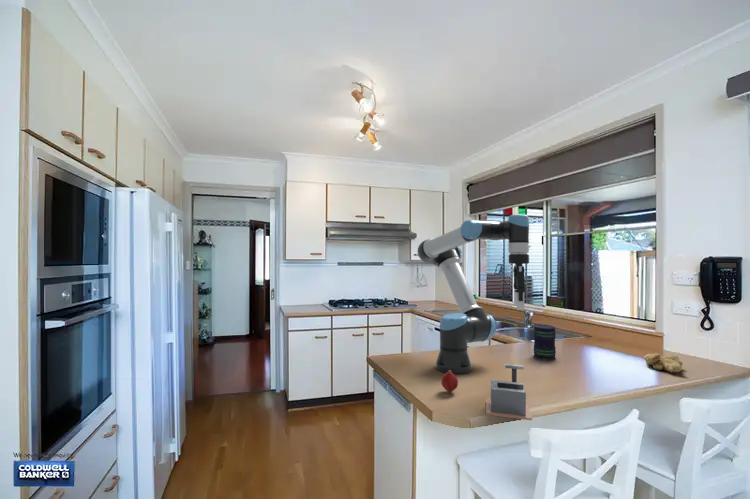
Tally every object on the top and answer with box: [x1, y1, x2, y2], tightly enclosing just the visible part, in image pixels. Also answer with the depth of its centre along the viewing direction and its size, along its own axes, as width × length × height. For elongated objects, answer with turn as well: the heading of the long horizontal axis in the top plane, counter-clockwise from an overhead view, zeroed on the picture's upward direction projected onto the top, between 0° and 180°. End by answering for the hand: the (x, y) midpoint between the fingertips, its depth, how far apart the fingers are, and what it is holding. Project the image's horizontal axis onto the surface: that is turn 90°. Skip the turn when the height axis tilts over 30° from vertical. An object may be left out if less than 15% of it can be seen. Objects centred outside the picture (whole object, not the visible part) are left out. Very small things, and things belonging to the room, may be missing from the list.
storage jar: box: [533, 324, 557, 361], centre depth 178 cm, size 10×10×15 cm
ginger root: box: [643, 352, 683, 373], centre depth 160 cm, size 16×16×8 cm
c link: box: [490, 379, 527, 416], centre depth 116 cm, size 10×9×7 cm
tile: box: [485, 399, 533, 421], centre depth 115 cm, size 13×11×1 cm
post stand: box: [504, 363, 525, 382], centre depth 128 cm, size 6×3×10 cm, turn 73°
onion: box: [440, 370, 459, 394], centre depth 131 cm, size 6×6×8 cm
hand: (518, 307), depth 144 cm, fingers open, 13 cm apart
